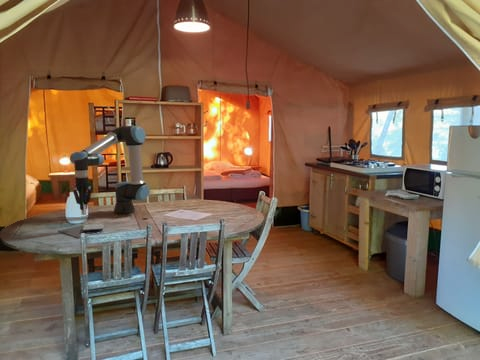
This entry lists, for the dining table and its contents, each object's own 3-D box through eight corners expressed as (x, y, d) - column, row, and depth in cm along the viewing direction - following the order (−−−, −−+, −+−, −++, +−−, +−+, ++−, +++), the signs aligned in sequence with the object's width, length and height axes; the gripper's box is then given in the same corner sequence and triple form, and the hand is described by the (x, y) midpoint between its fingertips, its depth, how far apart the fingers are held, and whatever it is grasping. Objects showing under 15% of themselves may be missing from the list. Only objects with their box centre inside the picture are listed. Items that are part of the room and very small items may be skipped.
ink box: (84, 228, 235) (82, 233, 224) (84, 224, 235) (81, 229, 224) (104, 227, 238) (102, 232, 227) (103, 223, 238) (102, 228, 227)
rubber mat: (82, 226, 242) (82, 225, 242) (102, 231, 230) (102, 231, 230) (58, 231, 230) (58, 230, 229) (78, 238, 217) (78, 237, 217)
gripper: (75, 178, 220) (77, 217, 223) (95, 176, 230) (96, 213, 234) (68, 177, 224) (70, 215, 227) (88, 175, 234) (89, 211, 238)
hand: (83, 214), depth 231 cm, fingers closed
